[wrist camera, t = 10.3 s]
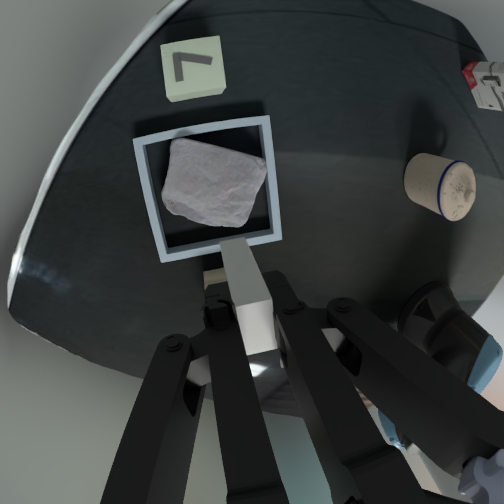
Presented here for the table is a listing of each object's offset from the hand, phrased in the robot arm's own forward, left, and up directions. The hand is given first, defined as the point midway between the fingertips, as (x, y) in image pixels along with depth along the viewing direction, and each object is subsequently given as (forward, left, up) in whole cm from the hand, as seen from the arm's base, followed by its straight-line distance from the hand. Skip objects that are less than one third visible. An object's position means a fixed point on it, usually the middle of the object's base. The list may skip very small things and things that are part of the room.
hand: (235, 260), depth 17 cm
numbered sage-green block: (+15, 0, -20) cm, 25 cm away
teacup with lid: (-2, -35, -21) cm, 40 cm away
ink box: (+16, -51, -21) cm, 57 cm away
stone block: (+1, 0, -21) cm, 21 cm away
